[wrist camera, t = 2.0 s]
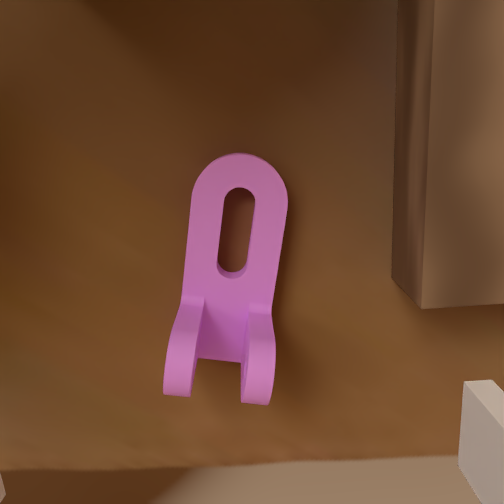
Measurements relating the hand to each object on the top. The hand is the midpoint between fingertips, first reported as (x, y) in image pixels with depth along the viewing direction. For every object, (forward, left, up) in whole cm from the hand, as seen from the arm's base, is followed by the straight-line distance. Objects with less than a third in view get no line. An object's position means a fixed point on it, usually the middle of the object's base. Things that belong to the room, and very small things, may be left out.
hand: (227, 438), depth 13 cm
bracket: (0, 0, -17) cm, 17 cm away
